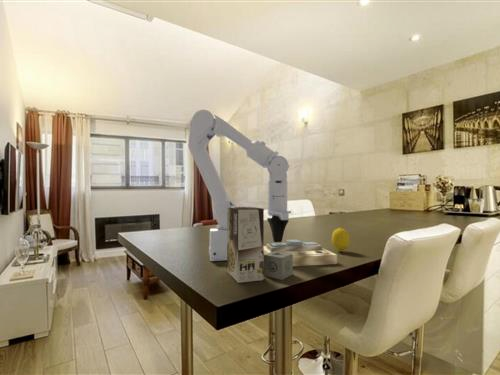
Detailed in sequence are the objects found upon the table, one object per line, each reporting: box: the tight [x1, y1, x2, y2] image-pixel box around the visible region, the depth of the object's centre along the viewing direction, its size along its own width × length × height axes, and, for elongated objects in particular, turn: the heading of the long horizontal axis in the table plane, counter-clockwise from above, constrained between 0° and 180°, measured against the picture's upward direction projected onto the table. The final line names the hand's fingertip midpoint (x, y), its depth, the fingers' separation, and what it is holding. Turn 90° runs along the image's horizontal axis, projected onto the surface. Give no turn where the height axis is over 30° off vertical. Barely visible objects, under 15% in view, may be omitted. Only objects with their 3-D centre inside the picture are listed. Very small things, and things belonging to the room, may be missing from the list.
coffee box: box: [226, 206, 265, 284], centre depth 63 cm, size 9×6×16 cm
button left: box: [270, 242, 286, 247], centre depth 80 cm, size 4×4×2 cm
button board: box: [264, 241, 338, 267], centre depth 79 cm, size 18×15×4 cm
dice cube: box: [264, 251, 294, 281], centre depth 64 cm, size 5×5×5 cm
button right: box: [301, 241, 318, 246], centre depth 82 cm, size 4×4×2 cm
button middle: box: [285, 239, 303, 246], centre depth 81 cm, size 4×4×2 cm
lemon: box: [331, 227, 350, 253], centre depth 88 cm, size 6×6×8 cm
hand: (277, 241), depth 80 cm, fingers closed
